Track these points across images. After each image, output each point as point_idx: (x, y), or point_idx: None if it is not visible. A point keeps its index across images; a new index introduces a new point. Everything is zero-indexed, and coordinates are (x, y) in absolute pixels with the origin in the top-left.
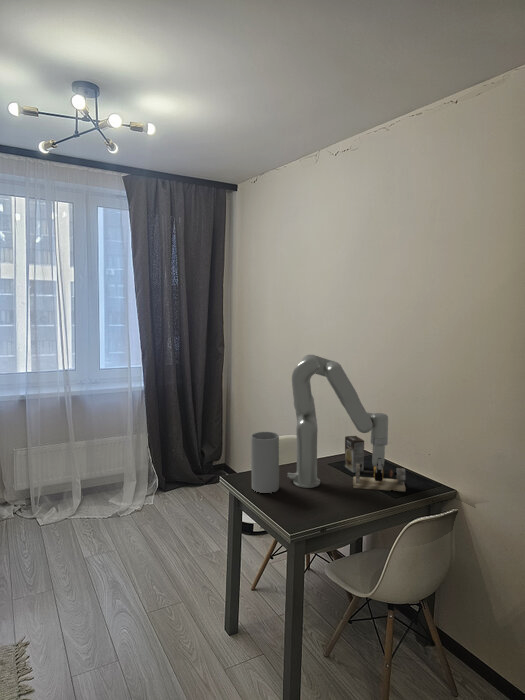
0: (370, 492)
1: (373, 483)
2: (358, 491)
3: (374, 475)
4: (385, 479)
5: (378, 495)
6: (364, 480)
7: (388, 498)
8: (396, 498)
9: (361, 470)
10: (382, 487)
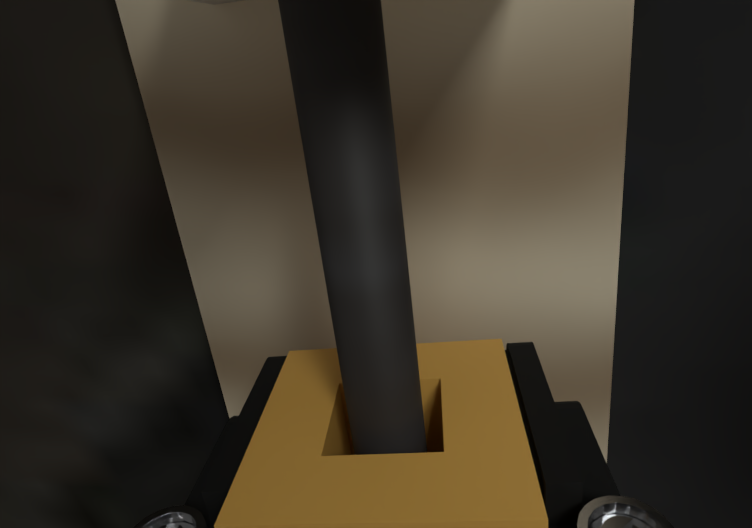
0: (74, 228)
1: (316, 288)
2: (7, 15)
3: (273, 402)
4: None
5: (30, 339)
6: (424, 104)
7: (9, 449)
8: (60, 523)
9: (328, 29)
10: (236, 412)
